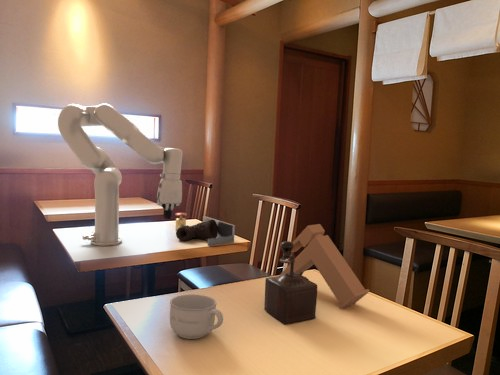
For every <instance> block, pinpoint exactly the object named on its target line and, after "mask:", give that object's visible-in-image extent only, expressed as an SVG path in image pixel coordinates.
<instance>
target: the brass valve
mask: <svg viewBox="0 0 500 375" xmlns="http://www.w3.org/2000/svg"><path fill="white" fill-rule="evenodd" d="M174 215H175V216H177V217H176V218H175V232H176V231H177V229H178V228H180V227H182V226H187V218H185V216H187V215H188V214H187V213H186V212H175V214H174Z"/></svg>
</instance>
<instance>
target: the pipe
mask: <svg viewBox="0 0 500 375" xmlns="http://www.w3.org/2000/svg"><path fill="white" fill-rule="evenodd" d="M213 219H214V218H213ZM213 219H211V220H209V221H206V222H203V221H202V222H199V223H196V224H193V225H187V224H186V226H182V227H180V228H178V229H177V231H175V236H176V238H177V239H178V240H180V241H183V242H186V241H189V240H192V238H197V239H199V240H200V239H201V240H206V241H208V239H210V238H217V234H218V229H217V224H216V221H215V220H213Z"/></svg>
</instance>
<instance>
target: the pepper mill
mask: <svg viewBox="0 0 500 375" xmlns="http://www.w3.org/2000/svg"><path fill="white" fill-rule="evenodd" d="M292 242H293V241H288V240H287V241H285V240H284V241H283V242H281V243H280V246H279V247H280V249H281V250H282V252H284V253H283V255H282V258H280V259H279V262H280V263H283V264H288V265H290V272H289V273H286V274H283V275H281V276H279V275H277V276H275V275H274V276H270V277H265V284H264V285H265V286H264V308H263V310H264V311H265V312H266V314H268V315H269V316H271V317H272V318H274V320H276V321H278V322H279V323H281V324H283V325H284V326H285V325H286V326H287V325H293V324H297V323H302V322H307V321H311V320H315V319H316V318H317V316H316V314H317V313H316V312H317V311H316V310H317V301H318V284H317V283H315V282H313V281H311V280H309V278H308V277H306V276H304V275H303V274H304V272H300V274H297V273H294V272H293V270H294V263H295V260H294V259H295V258H296V256H295V255H294V254H292V252H291V251H292V249H293V246H294V245H293V243H292Z"/></svg>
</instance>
